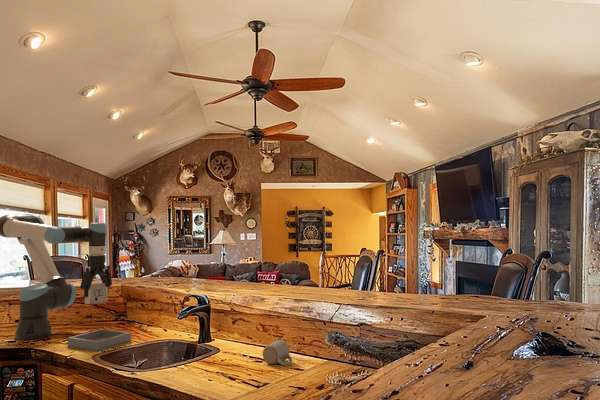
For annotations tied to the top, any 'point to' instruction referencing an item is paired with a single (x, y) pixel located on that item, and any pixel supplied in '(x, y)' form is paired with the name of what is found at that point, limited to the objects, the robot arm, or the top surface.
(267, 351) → the ceramic mug
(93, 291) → the electrical switch
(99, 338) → the parts tray
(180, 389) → the top surface
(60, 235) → the robot arm
